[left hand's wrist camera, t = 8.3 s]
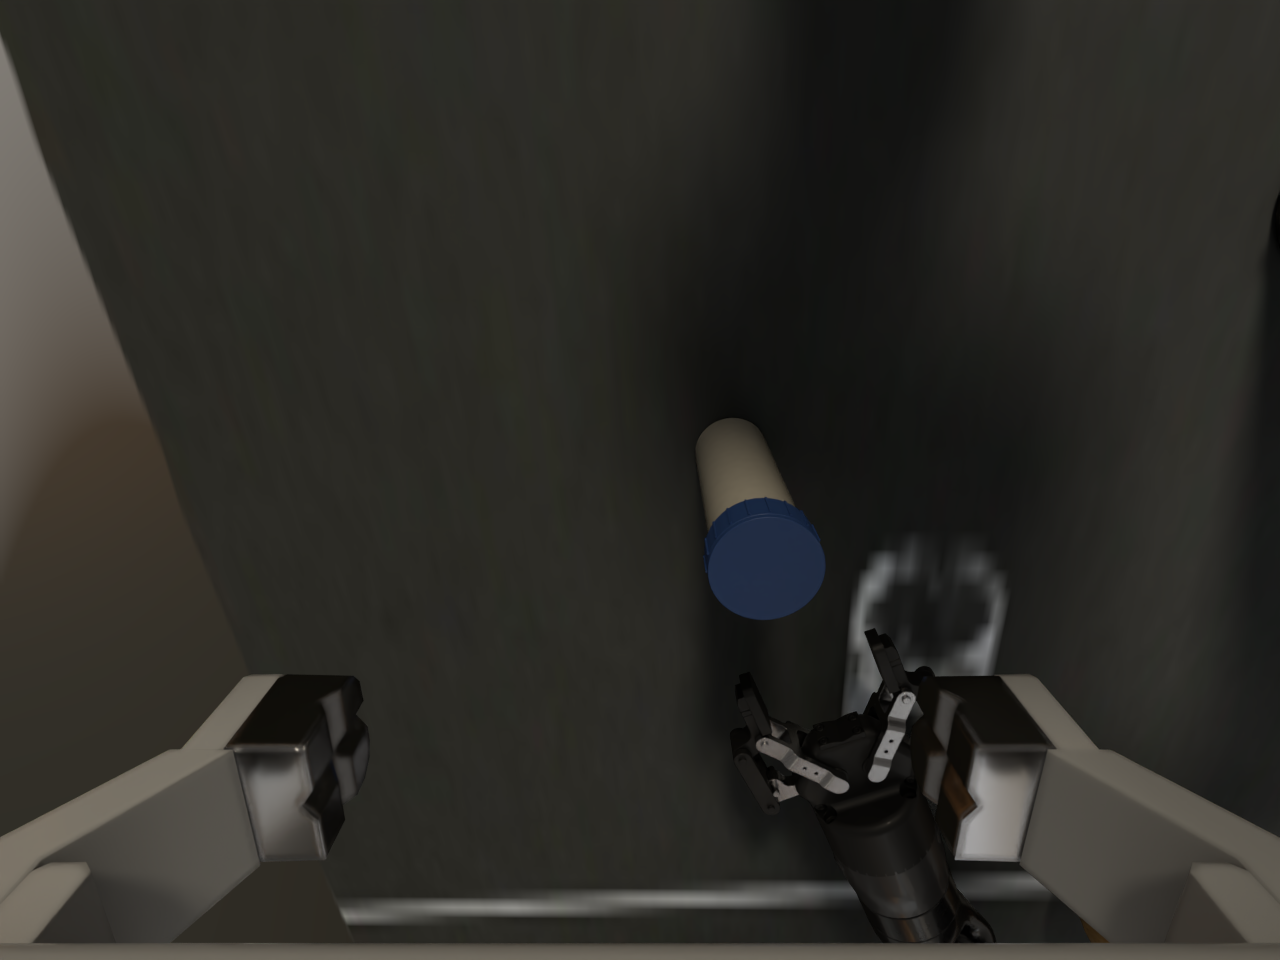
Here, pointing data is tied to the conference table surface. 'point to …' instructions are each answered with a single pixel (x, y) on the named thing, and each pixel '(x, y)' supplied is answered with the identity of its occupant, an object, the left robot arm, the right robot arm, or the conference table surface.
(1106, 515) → the conference table surface
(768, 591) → the lid
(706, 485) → the jar
